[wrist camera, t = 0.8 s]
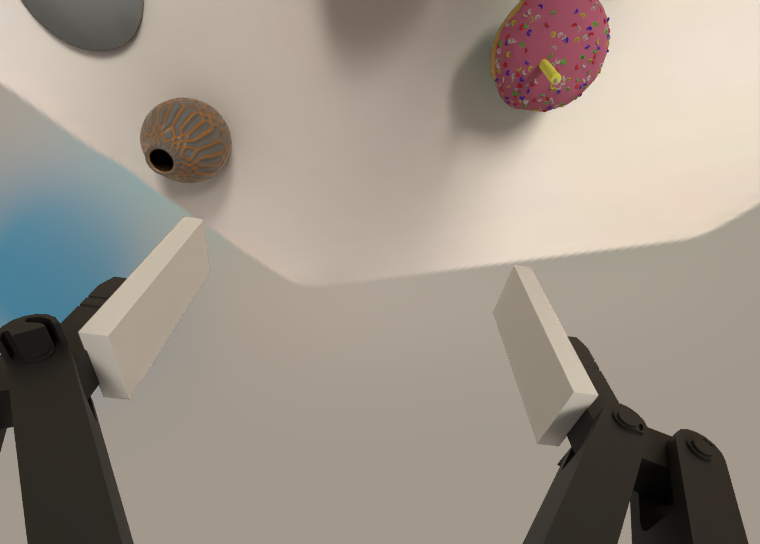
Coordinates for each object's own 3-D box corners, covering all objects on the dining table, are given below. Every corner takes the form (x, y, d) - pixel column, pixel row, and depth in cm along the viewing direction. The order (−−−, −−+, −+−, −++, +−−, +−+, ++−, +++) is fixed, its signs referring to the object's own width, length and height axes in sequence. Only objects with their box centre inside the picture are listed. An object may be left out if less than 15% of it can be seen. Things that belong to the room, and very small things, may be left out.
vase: (189, 73, 35) (138, 93, 27) (254, 129, 37) (223, 160, 30) (153, 130, 38) (98, 161, 30) (216, 178, 40) (179, 217, 33)
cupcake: (498, 117, 37) (540, 160, 27) (464, 23, 32) (499, 34, 22) (592, 68, 34) (676, 95, 24) (569, -41, 30) (659, -61, 20)
